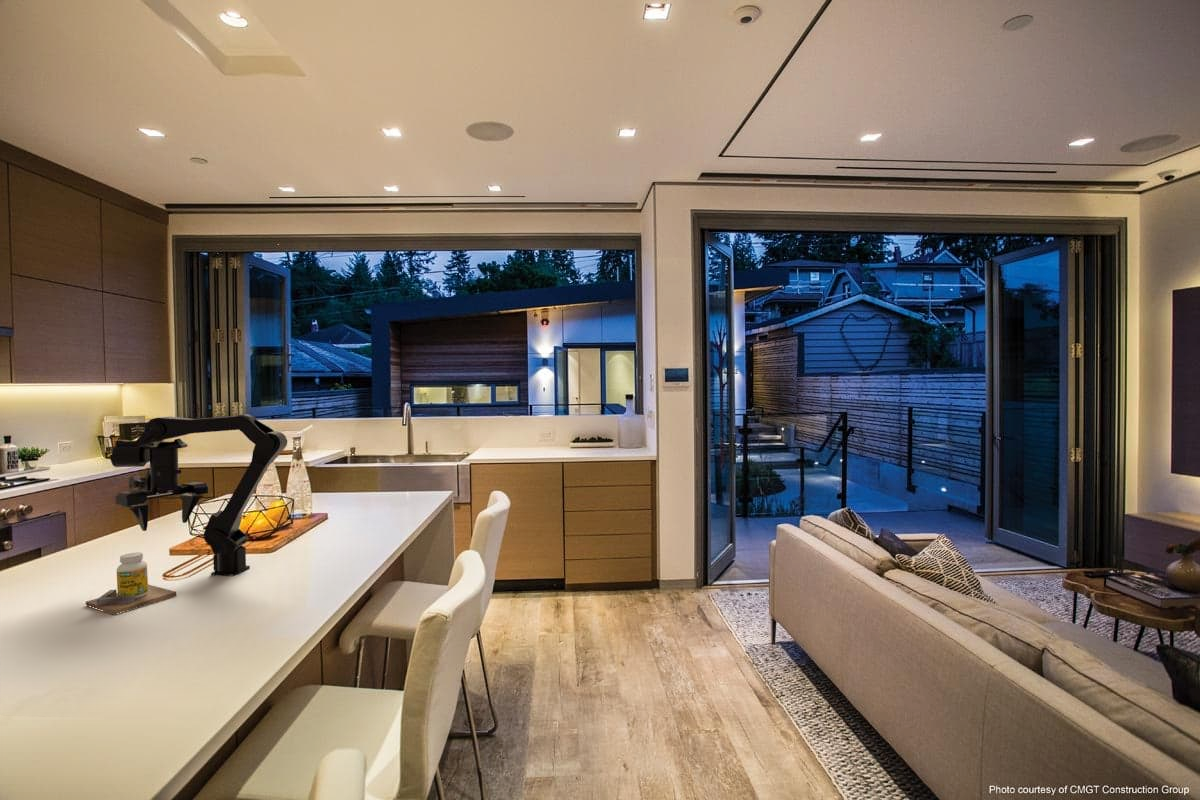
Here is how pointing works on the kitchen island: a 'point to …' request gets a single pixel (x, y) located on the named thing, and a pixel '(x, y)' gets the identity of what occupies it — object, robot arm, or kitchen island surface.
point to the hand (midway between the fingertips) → (165, 526)
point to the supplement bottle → (132, 575)
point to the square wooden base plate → (129, 600)
